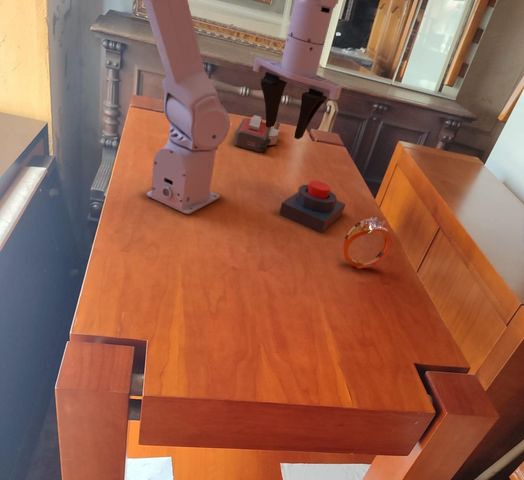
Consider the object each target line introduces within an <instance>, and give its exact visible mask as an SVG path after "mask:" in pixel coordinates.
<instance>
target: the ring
mask: <svg viewBox="0 0 524 480" xmlns="http://www.w3.org/2000/svg"><path fill="white" fill-rule="evenodd" d="M386 223H387V222H386V221H385V220H383V221H380V220H379V221H378V217H377V216H375V217H373V216H370V218H366V219H365V218H364V219H363V220H361V221H359V222H357V223H356V224H354V225H353V226H352V227H351V228H350V230H349V231H348V232H347V234H346V236H345V237H344V239H343V241H342V254H343V256H344V259H345V261H346V262H347V263H348V264H349V265H350V266H353V267H355V268H356V269H359V270H361V269H366V268H371V267H373V266H377V265H378V264H379V263H381V262H382V261H383V260H384V259H385V258H386V257H387V255H388V253H389V252H390V249H391V246H392V236H391V233H390V232H389V230H388V229H387V228H385V227H384V226H385V225H386ZM371 232H379V233H380V234H381V236H382V238H383V245H382V247H381V250H380V252H379V253H378V254H377V255H376V256H375V257H374V258H372V259H369V260H367V261H362V259H357V260H355V259H353V258H352V257H351V256H350V255H349V248H350V246H351V244H352V242H354V241H355V240H357V238H359V237H361V236H364V235H367V234H370V233H371Z"/></svg>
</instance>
